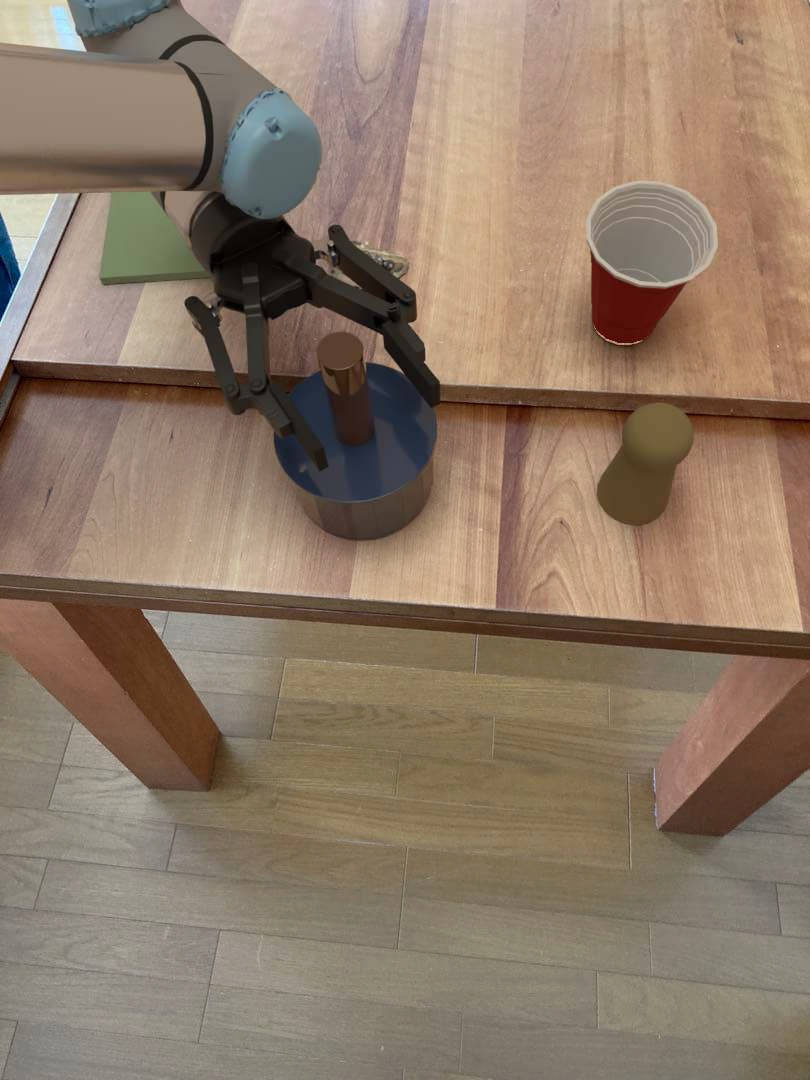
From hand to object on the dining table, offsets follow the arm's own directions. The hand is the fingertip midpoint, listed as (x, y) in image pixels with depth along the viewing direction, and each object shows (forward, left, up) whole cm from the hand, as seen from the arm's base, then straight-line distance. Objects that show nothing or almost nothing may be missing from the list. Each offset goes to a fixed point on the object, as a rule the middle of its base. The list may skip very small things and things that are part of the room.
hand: (379, 426), depth 57 cm
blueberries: (-1, +28, -15) cm, 32 cm away
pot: (-2, +4, -15) cm, 15 cm away
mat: (-19, +36, -15) cm, 43 cm away
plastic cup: (+23, +19, -15) cm, 33 cm away
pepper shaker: (+21, +1, -15) cm, 25 cm away
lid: (-2, +4, -7) cm, 8 cm away
